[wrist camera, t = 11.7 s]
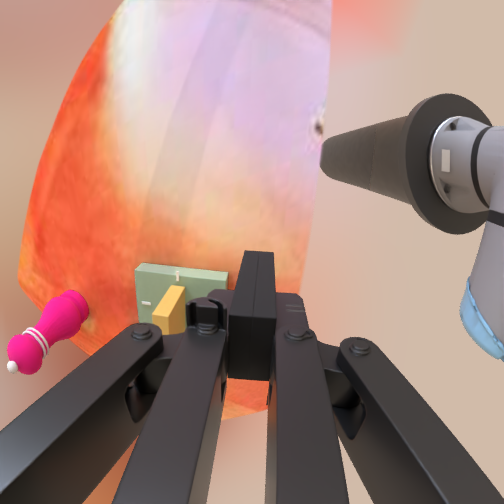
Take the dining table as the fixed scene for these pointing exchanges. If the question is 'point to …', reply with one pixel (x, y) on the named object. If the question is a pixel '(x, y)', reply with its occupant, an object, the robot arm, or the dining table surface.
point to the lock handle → (171, 311)
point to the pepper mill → (47, 332)
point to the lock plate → (162, 277)
